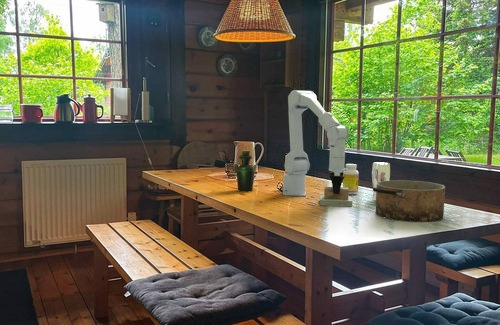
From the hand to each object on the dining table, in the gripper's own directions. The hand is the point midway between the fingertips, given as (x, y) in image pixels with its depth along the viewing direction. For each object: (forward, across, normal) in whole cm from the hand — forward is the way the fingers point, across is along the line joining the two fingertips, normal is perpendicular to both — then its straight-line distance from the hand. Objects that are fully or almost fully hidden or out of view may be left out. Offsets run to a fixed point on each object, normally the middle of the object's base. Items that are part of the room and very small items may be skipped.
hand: (336, 192), depth 184 cm
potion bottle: (+5, +22, +39) cm, 45 cm away
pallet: (+2, 0, 0) cm, 2 cm away
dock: (+4, 0, 0) cm, 4 cm away
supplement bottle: (+5, +24, -7) cm, 25 cm away
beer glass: (+5, +11, -18) cm, 22 cm away
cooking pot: (+5, -16, -24) cm, 30 cm away
